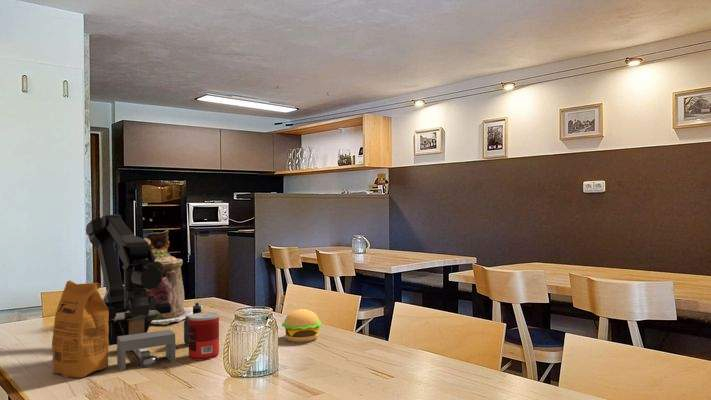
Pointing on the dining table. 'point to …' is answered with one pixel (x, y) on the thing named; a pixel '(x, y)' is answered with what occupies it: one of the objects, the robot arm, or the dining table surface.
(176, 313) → the cookie jar
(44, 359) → the dining table surface
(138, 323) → the blade tool
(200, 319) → the canned food
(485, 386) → the dining table surface
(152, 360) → the steel token
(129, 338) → the low shelf
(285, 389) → the dining table surface
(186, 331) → the vaping device
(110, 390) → the dining table surface
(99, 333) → the coffee package
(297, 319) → the hamburger
